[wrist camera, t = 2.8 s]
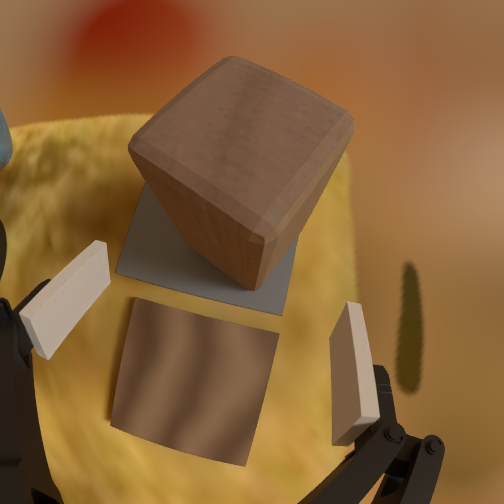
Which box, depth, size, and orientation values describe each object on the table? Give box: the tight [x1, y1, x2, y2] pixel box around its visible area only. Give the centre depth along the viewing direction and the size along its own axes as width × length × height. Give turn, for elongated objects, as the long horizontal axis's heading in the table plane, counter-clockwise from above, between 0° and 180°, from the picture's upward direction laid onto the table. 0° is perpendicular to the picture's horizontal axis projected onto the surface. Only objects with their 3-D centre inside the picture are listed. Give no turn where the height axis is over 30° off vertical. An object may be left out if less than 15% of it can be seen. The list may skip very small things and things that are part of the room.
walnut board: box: [110, 297, 279, 466], centre depth 29 cm, size 16×16×2 cm
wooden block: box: [128, 56, 354, 291], centre depth 24 cm, size 10×10×20 cm
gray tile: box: [115, 182, 299, 316], centre depth 35 cm, size 20×20×1 cm
